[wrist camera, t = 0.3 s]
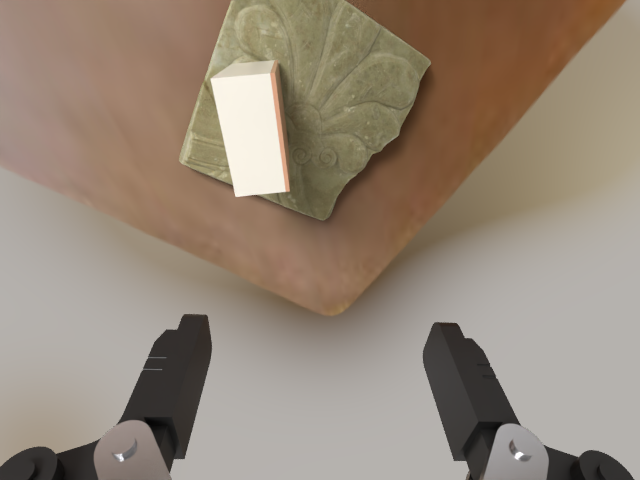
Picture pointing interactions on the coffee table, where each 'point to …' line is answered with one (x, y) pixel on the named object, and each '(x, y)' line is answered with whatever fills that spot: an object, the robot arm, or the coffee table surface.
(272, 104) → the white rectangular block
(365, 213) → the coffee table surface
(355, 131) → the decorative tile
